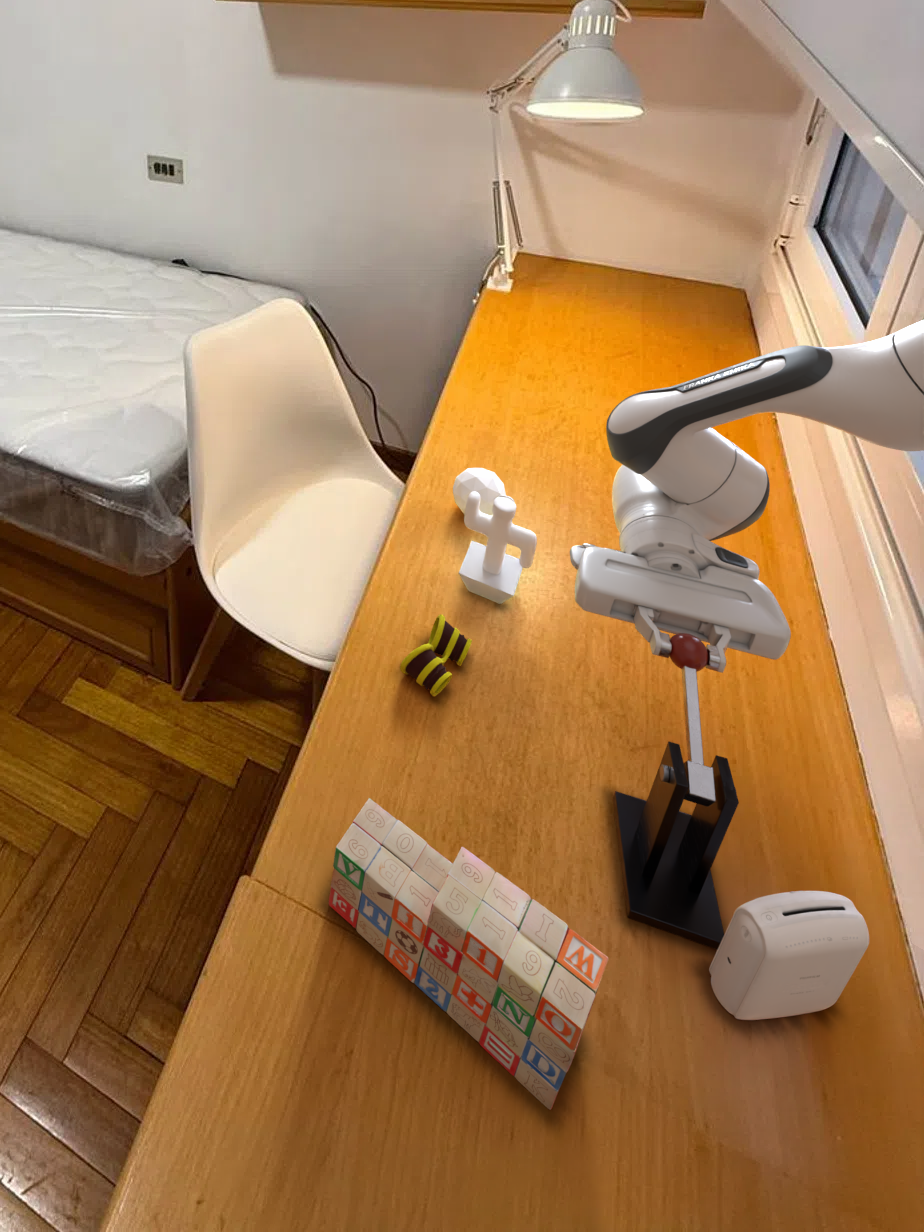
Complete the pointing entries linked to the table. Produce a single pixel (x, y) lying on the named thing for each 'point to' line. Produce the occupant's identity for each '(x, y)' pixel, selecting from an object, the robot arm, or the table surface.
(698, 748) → the lever
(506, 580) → the figurine
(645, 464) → the robot arm
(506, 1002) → the stack of blocks
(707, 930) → the bracket
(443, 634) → the opera glasses
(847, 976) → the photo printer
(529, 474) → the table surface
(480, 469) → the geometric ball
